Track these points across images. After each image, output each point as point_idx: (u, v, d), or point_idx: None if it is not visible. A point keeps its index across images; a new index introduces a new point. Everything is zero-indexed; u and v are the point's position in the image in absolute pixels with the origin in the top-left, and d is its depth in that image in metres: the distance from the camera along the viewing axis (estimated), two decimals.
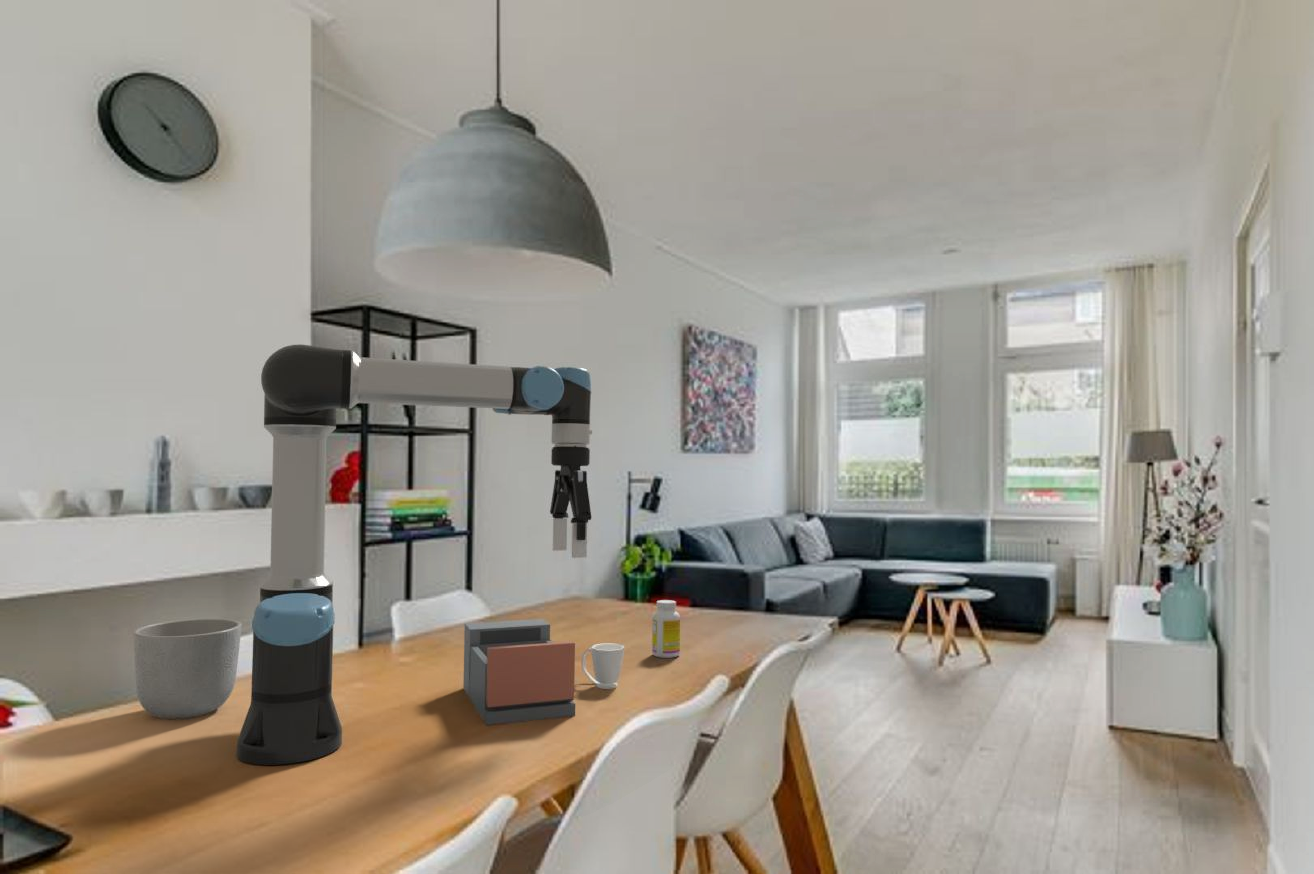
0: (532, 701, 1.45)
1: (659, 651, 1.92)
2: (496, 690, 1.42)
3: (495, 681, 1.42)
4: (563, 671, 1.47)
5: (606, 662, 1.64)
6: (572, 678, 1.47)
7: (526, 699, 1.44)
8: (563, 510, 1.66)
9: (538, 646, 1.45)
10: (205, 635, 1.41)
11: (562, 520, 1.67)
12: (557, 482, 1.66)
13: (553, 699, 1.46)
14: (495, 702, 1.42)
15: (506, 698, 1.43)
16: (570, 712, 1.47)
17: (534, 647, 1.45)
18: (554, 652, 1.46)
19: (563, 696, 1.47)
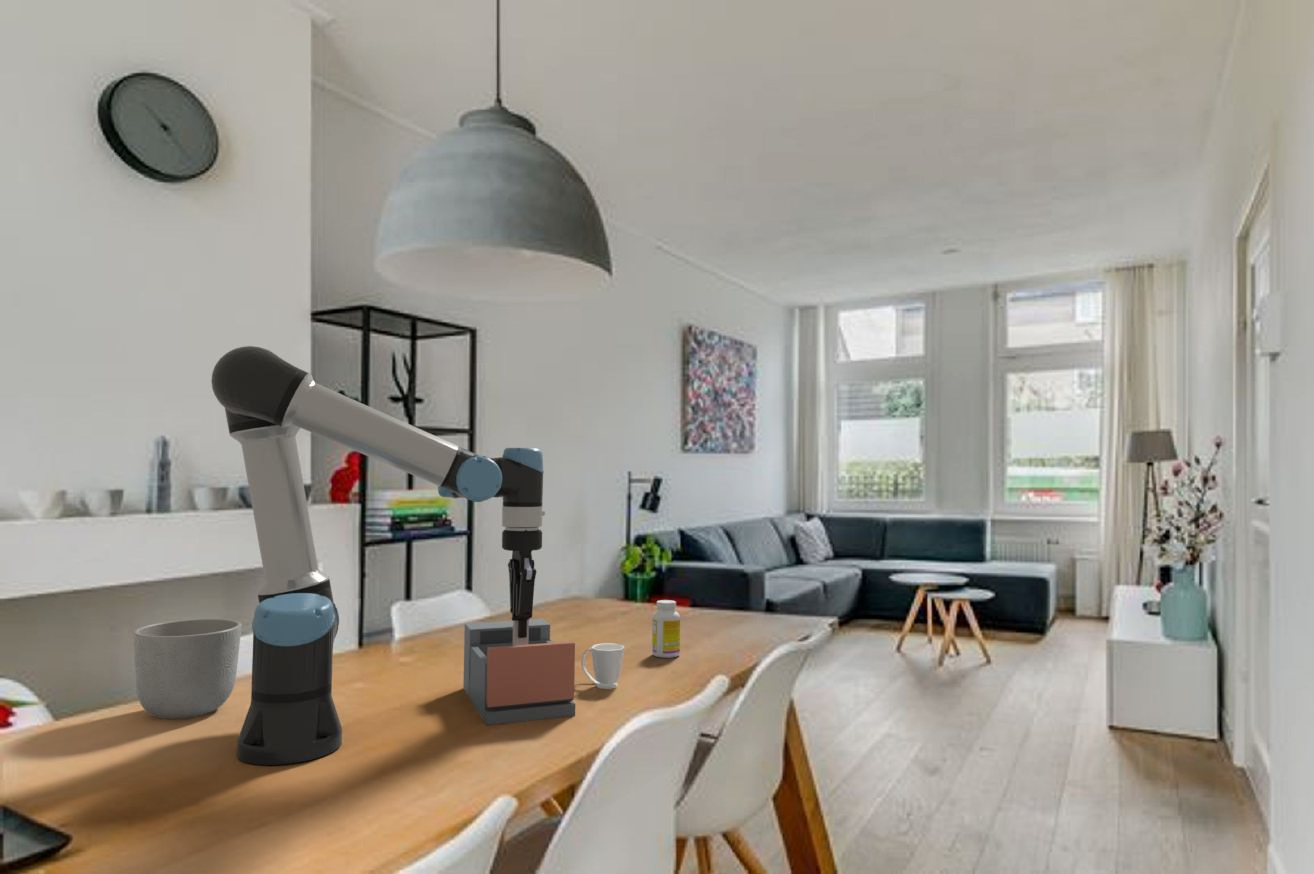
0: (532, 701, 1.45)
1: (659, 650, 1.92)
2: (496, 690, 1.42)
3: (495, 681, 1.42)
4: (563, 671, 1.47)
5: (606, 662, 1.64)
6: (572, 678, 1.47)
7: (526, 699, 1.44)
8: None
9: (538, 646, 1.45)
10: (205, 635, 1.41)
11: None
12: None
13: (553, 699, 1.46)
14: (495, 702, 1.42)
15: (506, 698, 1.43)
16: (570, 712, 1.47)
17: (534, 647, 1.45)
18: (554, 652, 1.46)
19: (563, 696, 1.47)
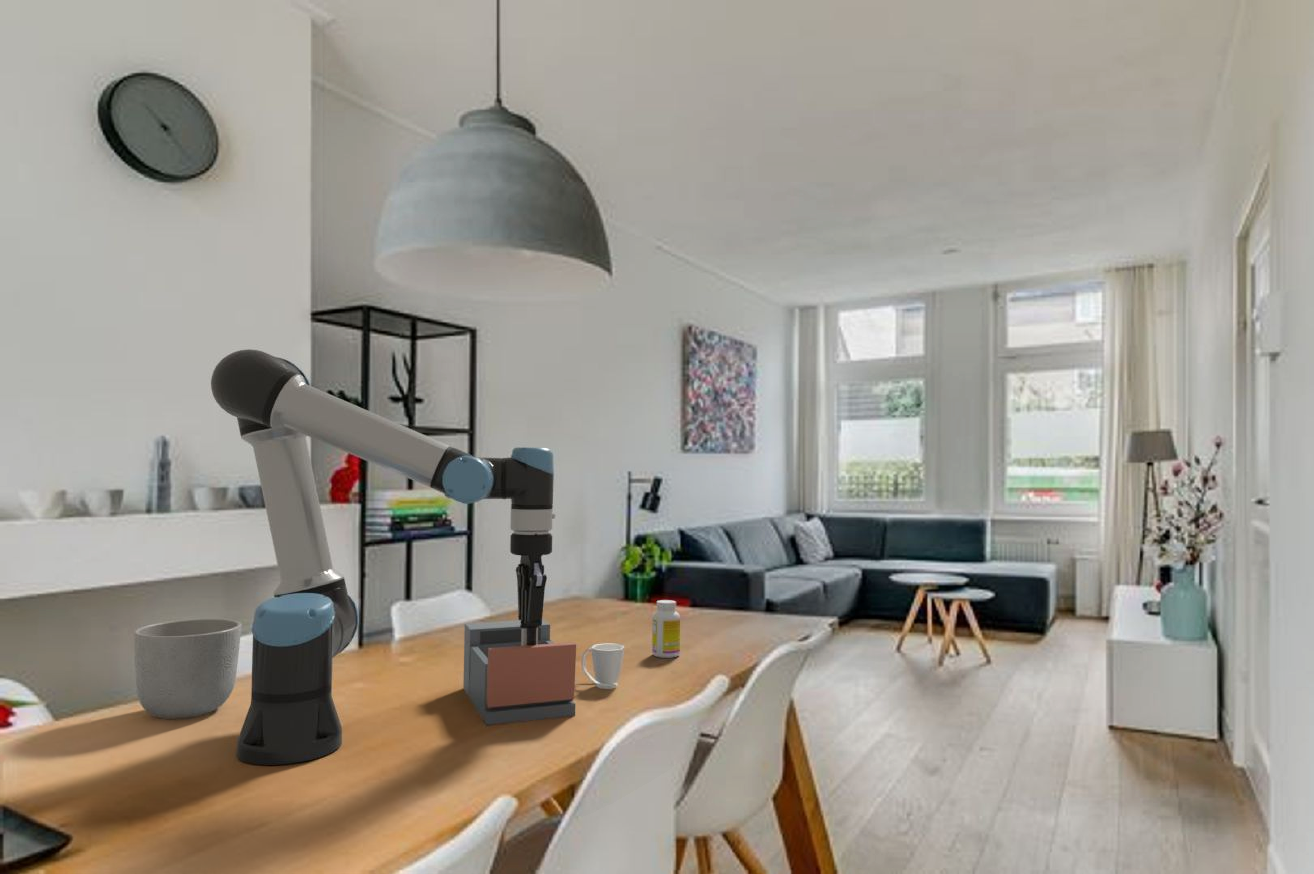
0: (532, 701, 1.44)
1: (659, 651, 1.92)
2: (496, 691, 1.42)
3: (495, 682, 1.42)
4: (564, 672, 1.46)
5: (606, 662, 1.64)
6: (572, 679, 1.47)
7: (526, 699, 1.44)
8: None
9: (539, 647, 1.45)
10: (205, 635, 1.41)
11: None
12: None
13: (553, 699, 1.46)
14: (495, 702, 1.42)
15: (506, 698, 1.43)
16: (570, 712, 1.47)
17: (535, 648, 1.44)
18: (555, 653, 1.46)
19: (563, 697, 1.47)
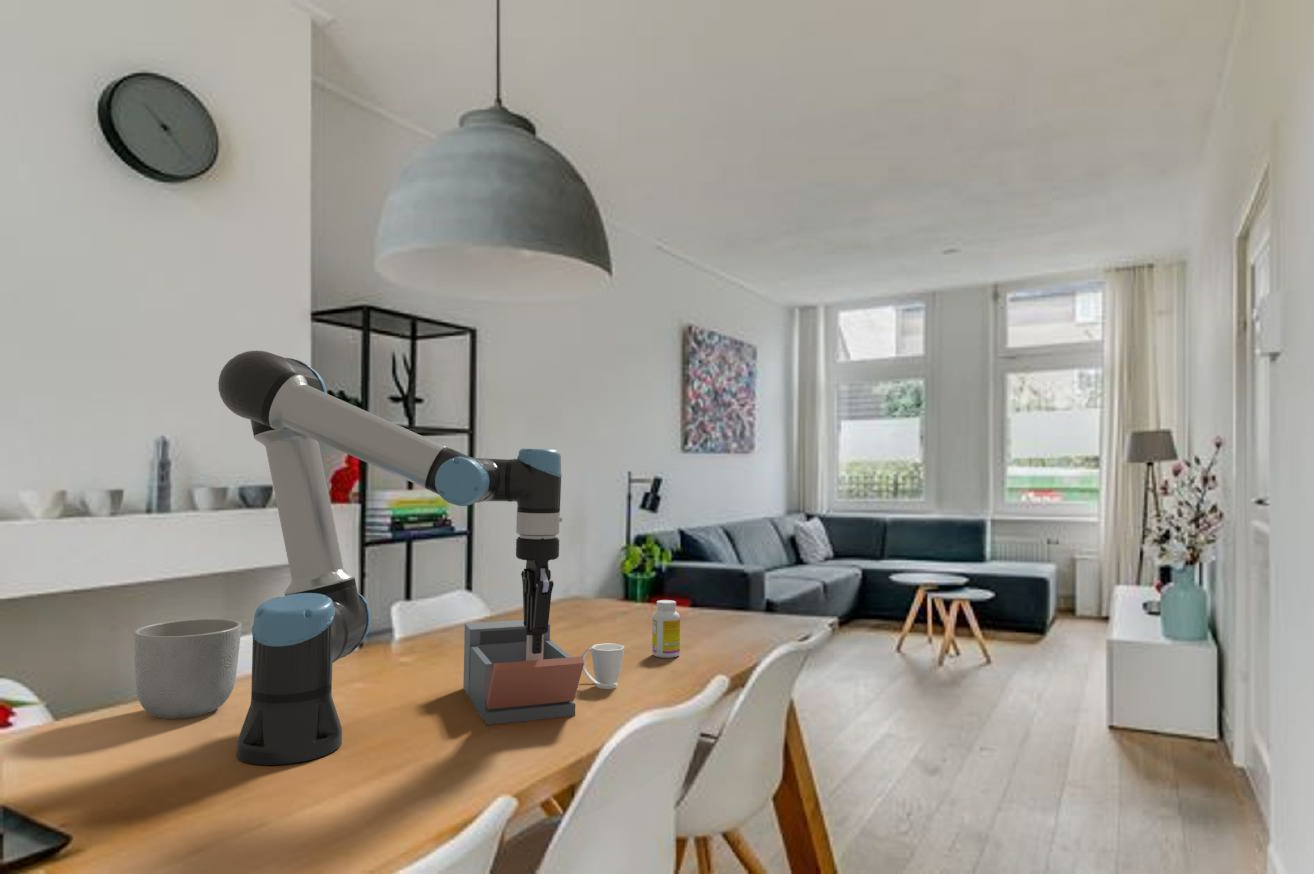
0: (532, 704, 1.45)
1: (659, 651, 1.92)
2: (497, 698, 1.41)
3: (498, 692, 1.40)
4: (567, 683, 1.44)
5: (606, 662, 1.64)
6: (575, 687, 1.46)
7: (526, 703, 1.44)
8: None
9: (546, 666, 1.40)
10: (205, 635, 1.41)
11: None
12: None
13: (553, 702, 1.46)
14: (495, 706, 1.42)
15: (506, 703, 1.42)
16: (570, 712, 1.47)
17: (542, 667, 1.40)
18: (561, 670, 1.42)
19: (563, 700, 1.47)
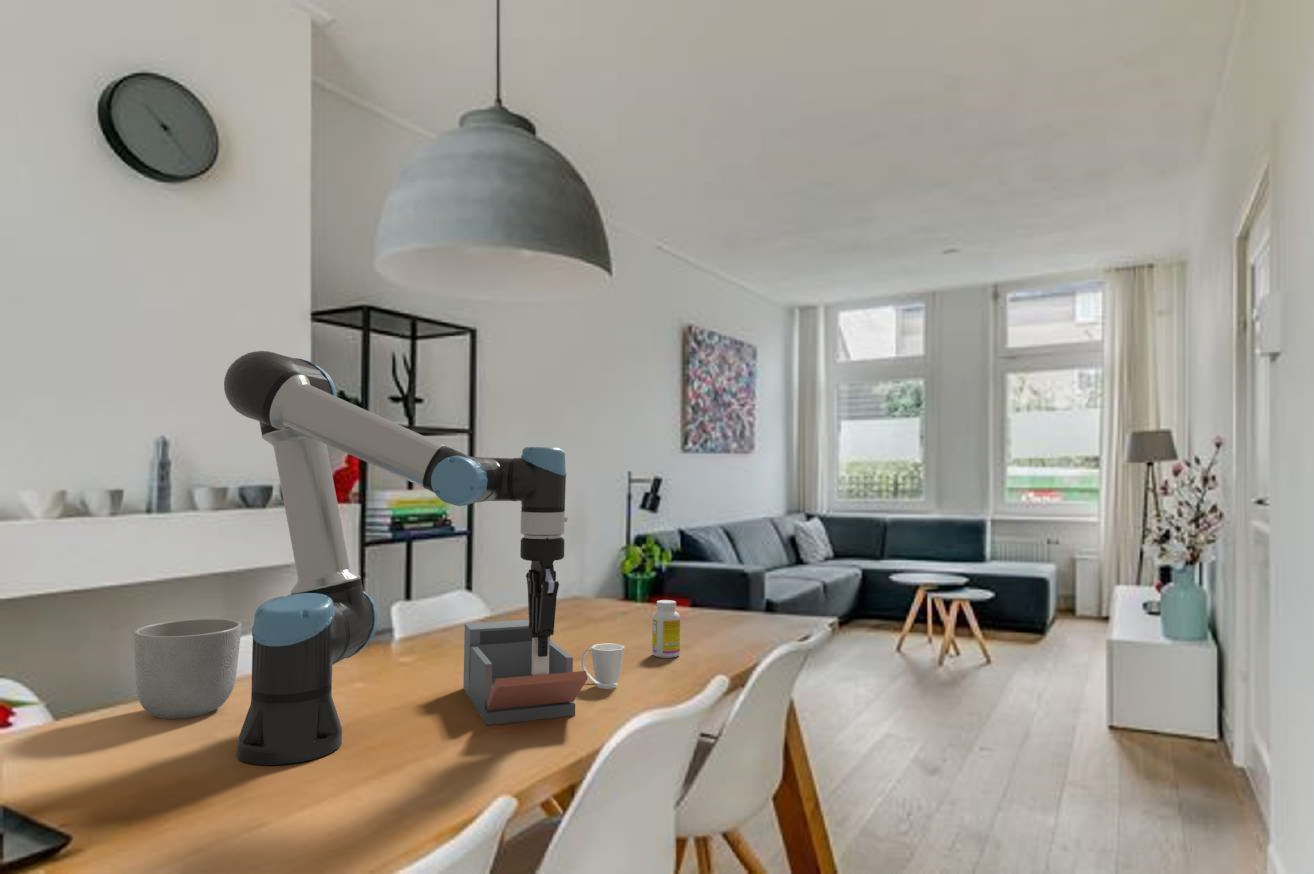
0: (532, 705, 1.45)
1: (659, 651, 1.92)
2: (498, 703, 1.40)
3: (498, 699, 1.39)
4: (569, 691, 1.43)
5: (607, 662, 1.64)
6: (576, 693, 1.45)
7: (526, 704, 1.44)
8: None
9: (549, 682, 1.38)
10: (205, 635, 1.41)
11: None
12: None
13: (553, 703, 1.46)
14: (495, 707, 1.42)
15: (506, 705, 1.42)
16: (570, 712, 1.47)
17: (544, 683, 1.38)
18: (564, 684, 1.40)
19: (563, 701, 1.47)
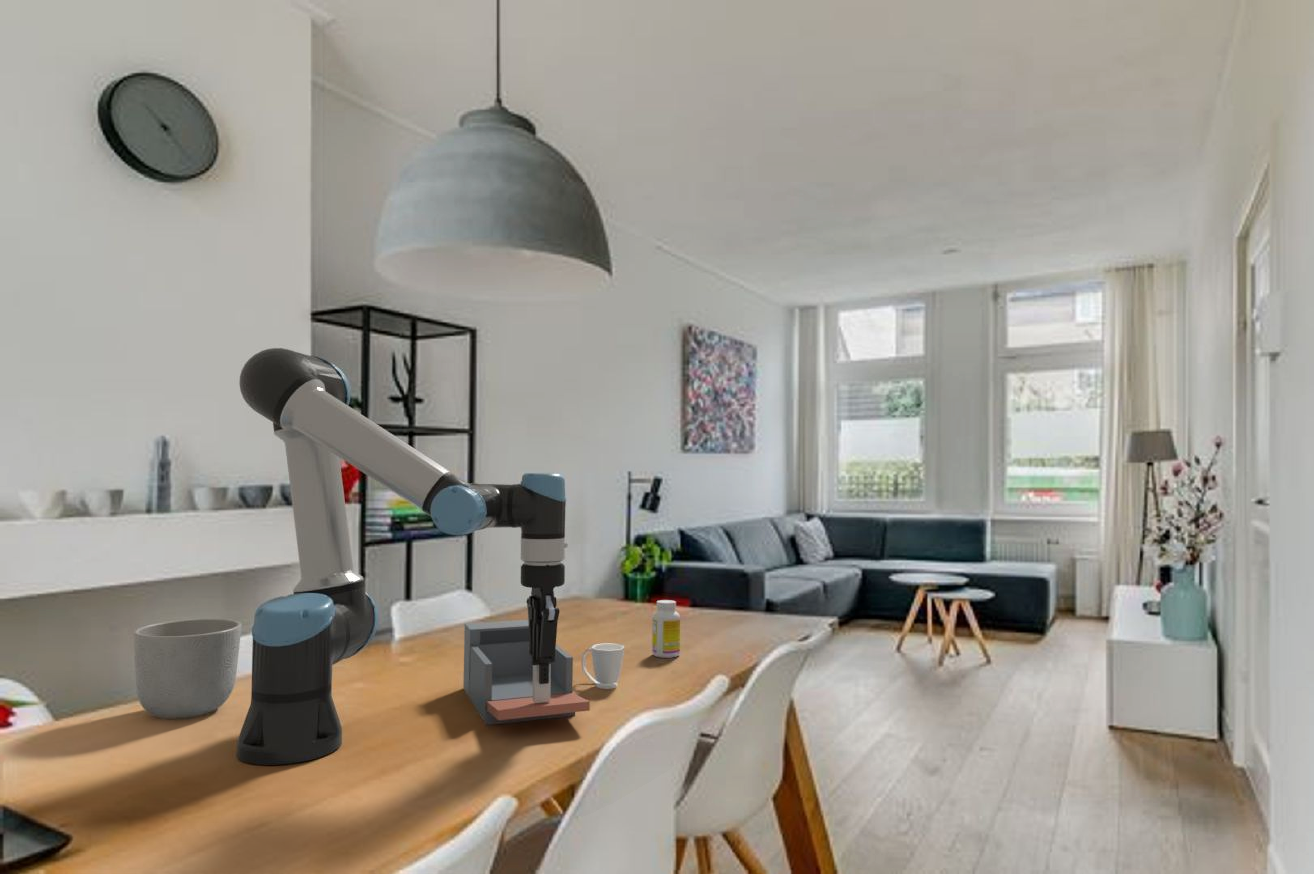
0: None
1: (659, 651, 1.92)
2: None
3: None
4: None
5: (607, 662, 1.64)
6: None
7: None
8: None
9: None
10: (205, 635, 1.41)
11: None
12: None
13: None
14: None
15: None
16: None
17: (546, 714, 1.36)
18: None
19: None
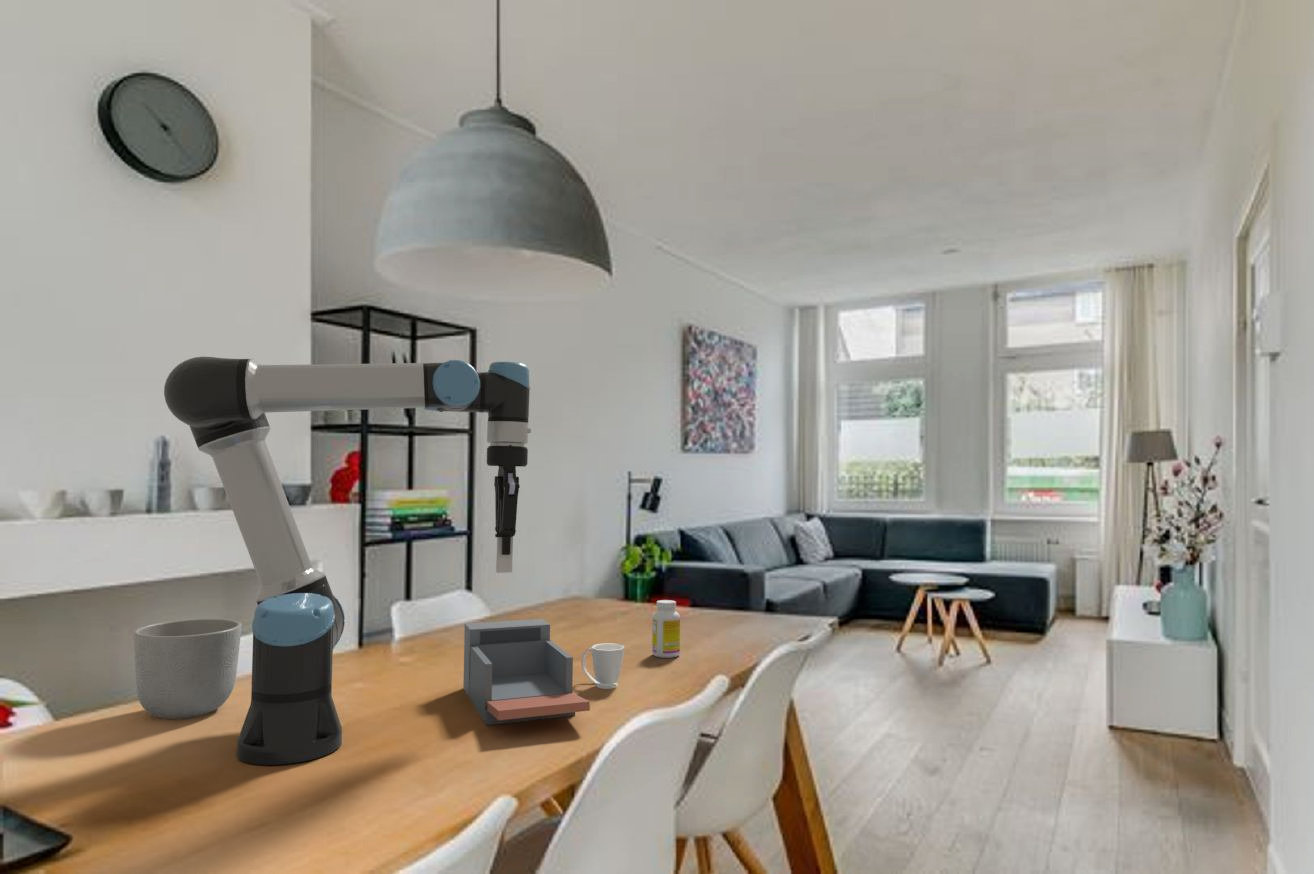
0: None
1: (659, 650, 1.92)
2: None
3: None
4: None
5: (607, 662, 1.64)
6: None
7: None
8: None
9: None
10: (205, 635, 1.41)
11: None
12: None
13: None
14: None
15: None
16: None
17: (546, 714, 1.36)
18: None
19: None
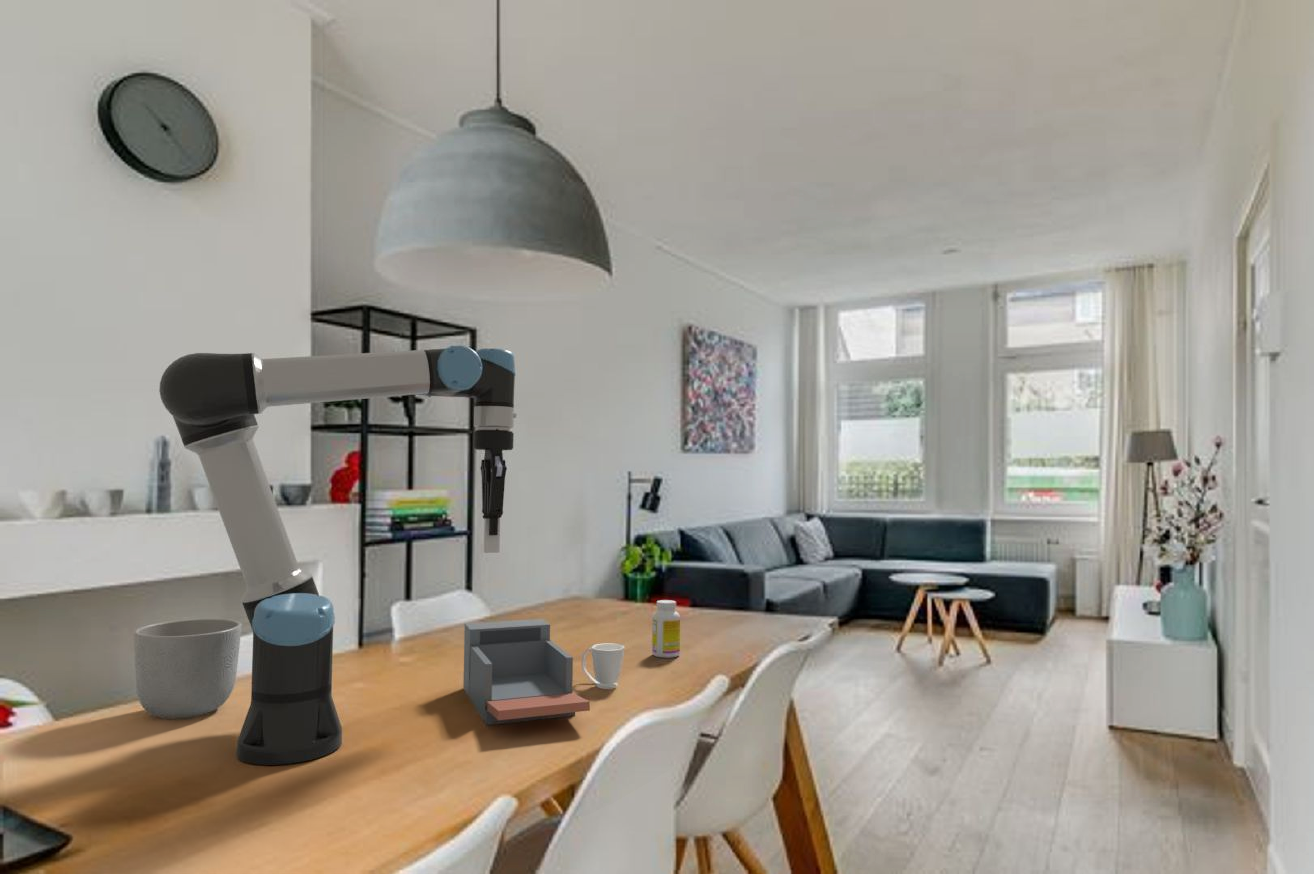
0: None
1: (659, 650, 1.92)
2: None
3: None
4: None
5: (607, 662, 1.64)
6: None
7: None
8: None
9: None
10: (205, 635, 1.41)
11: None
12: None
13: None
14: None
15: None
16: None
17: (546, 714, 1.36)
18: None
19: None
